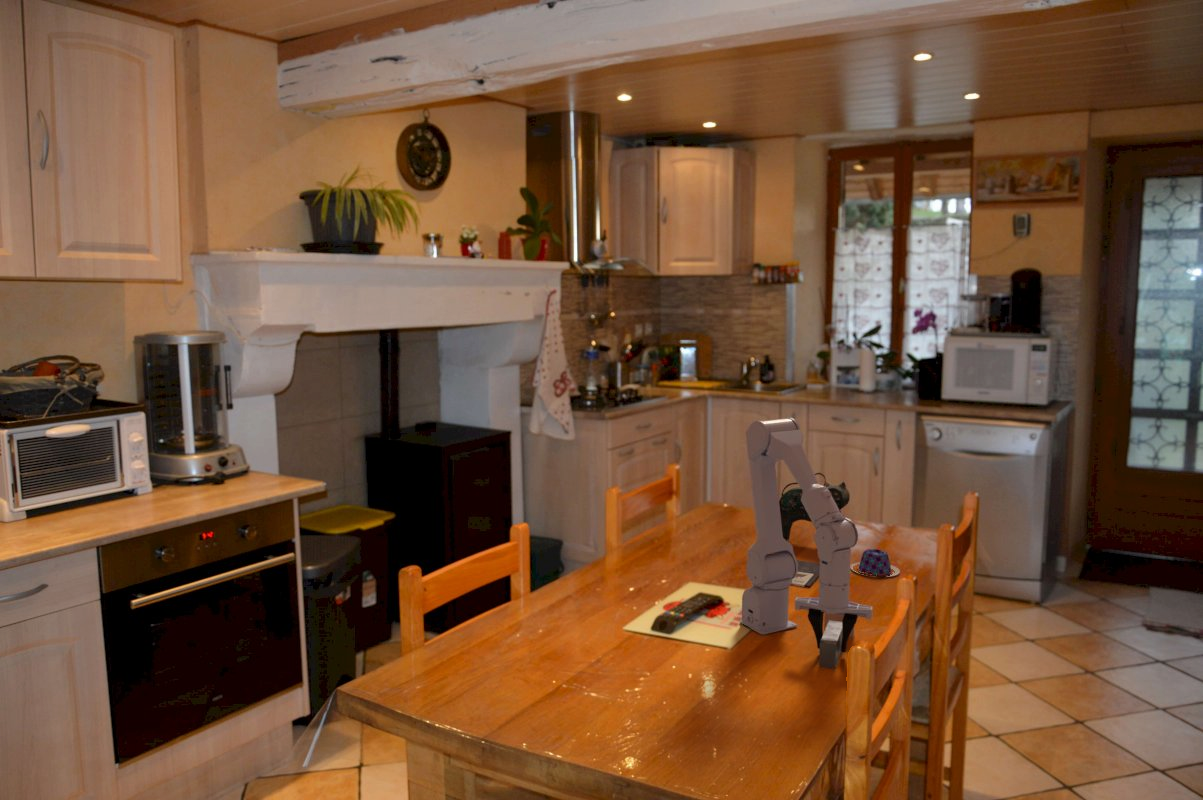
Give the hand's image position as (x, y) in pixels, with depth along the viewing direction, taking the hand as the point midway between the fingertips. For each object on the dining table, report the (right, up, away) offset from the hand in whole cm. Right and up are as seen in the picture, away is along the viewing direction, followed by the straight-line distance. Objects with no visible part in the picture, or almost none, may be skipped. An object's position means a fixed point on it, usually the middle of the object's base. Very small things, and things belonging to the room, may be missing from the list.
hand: (831, 648), depth 179 cm
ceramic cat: (+13, +9, +75) cm, 76 cm away
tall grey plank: (0, -2, 0) cm, 2 cm away
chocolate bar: (+5, +5, +49) cm, 49 cm away
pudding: (+24, +5, +51) cm, 57 cm away
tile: (+4, 0, +11) cm, 11 cm away
